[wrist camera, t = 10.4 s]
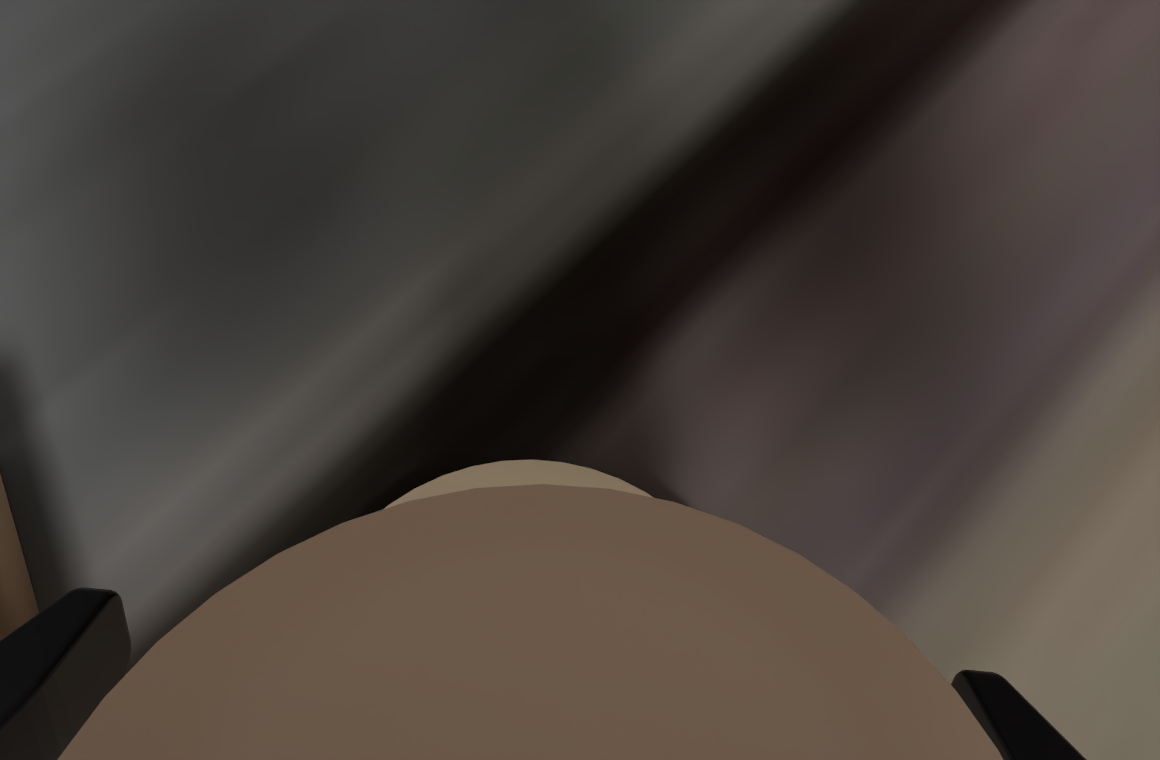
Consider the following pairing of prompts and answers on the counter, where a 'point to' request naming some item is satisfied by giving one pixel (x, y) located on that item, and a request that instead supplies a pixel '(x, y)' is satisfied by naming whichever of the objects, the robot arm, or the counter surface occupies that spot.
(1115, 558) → the counter surface
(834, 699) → the jar
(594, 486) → the coaster
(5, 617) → the tile
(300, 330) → the counter surface
